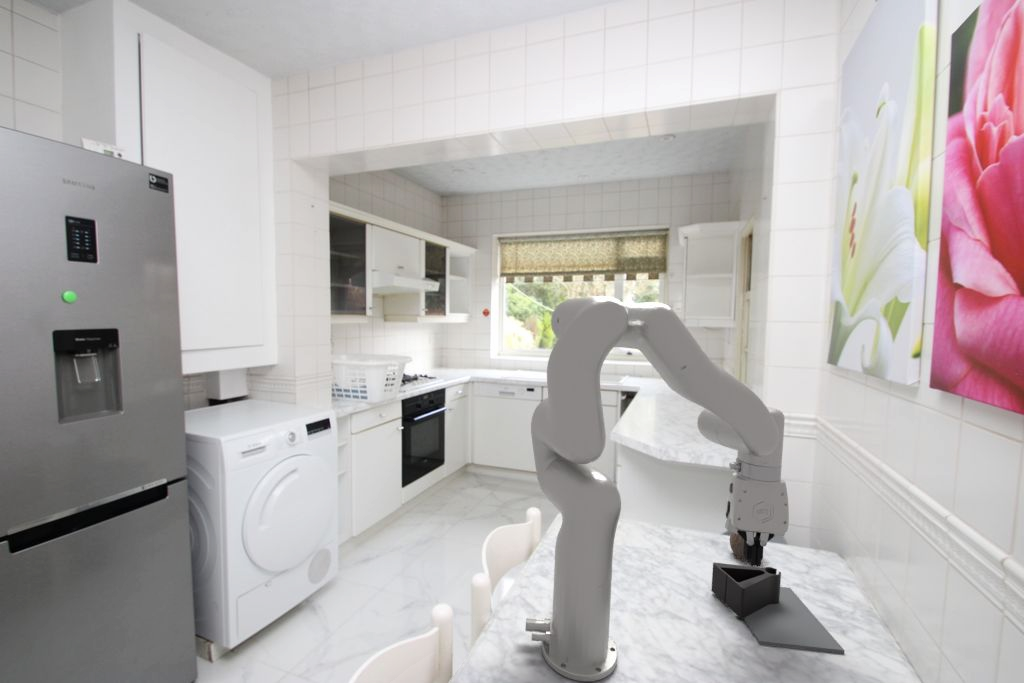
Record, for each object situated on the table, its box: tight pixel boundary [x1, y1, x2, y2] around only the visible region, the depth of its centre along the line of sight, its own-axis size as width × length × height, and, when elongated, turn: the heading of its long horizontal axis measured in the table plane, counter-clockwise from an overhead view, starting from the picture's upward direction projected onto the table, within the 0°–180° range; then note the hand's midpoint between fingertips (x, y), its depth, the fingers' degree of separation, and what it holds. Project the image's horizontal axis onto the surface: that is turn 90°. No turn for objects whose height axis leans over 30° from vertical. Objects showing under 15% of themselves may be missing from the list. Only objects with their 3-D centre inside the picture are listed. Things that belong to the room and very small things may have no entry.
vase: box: [729, 532, 755, 561], centre depth 107 cm, size 7×7×9 cm
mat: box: [742, 586, 845, 654], centre depth 85 cm, size 14×18×1 cm
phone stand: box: [711, 562, 782, 620], centre depth 88 cm, size 9×6×12 cm
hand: (752, 562), depth 85 cm, fingers closed
